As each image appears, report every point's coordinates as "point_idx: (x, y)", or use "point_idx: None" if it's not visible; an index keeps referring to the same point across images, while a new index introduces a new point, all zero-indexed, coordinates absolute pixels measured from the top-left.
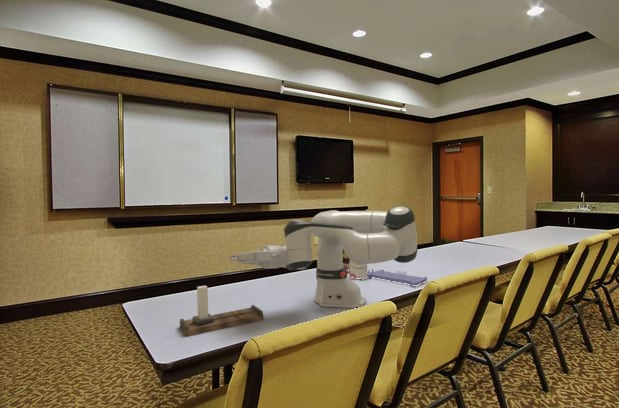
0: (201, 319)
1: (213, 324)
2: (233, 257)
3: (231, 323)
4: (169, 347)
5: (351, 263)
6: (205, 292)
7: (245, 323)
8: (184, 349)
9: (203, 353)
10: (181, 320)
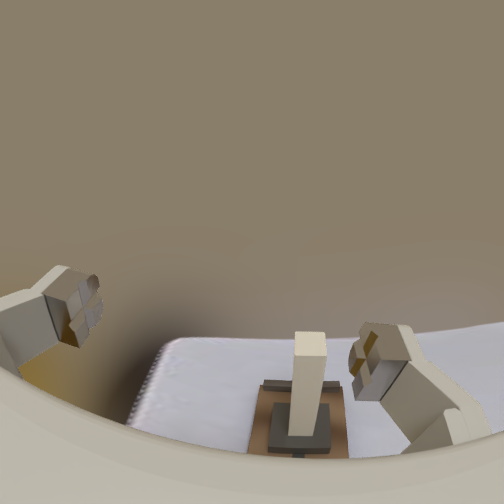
0: (285, 416)
1: (251, 446)
2: (365, 355)
3: None
4: (226, 360)
5: None
6: (293, 366)
7: None
8: (192, 374)
9: (143, 387)
10: (325, 382)
